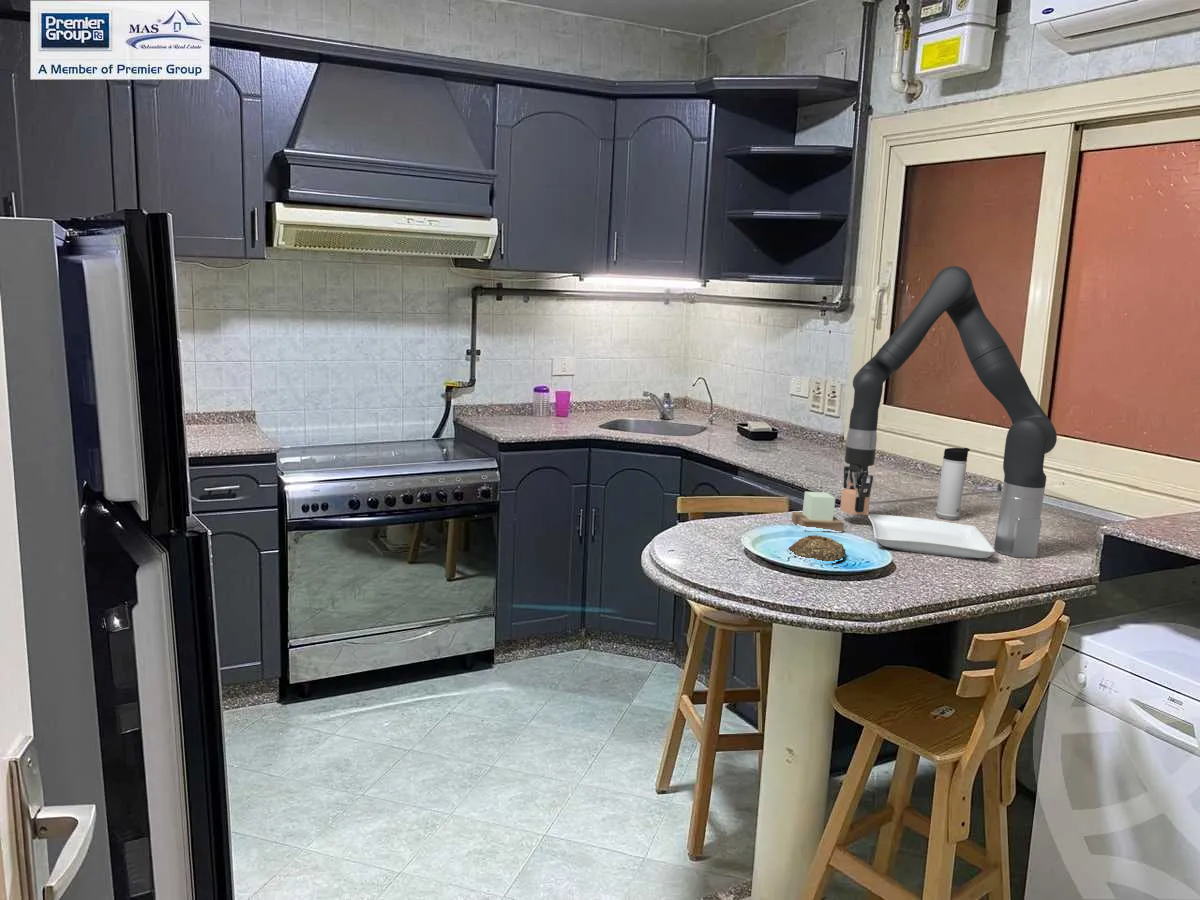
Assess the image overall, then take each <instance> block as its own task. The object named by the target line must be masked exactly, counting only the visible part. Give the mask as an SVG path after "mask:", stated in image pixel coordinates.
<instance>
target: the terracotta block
mask: <svg viewBox="0 0 1200 900" xmlns="http://www.w3.org/2000/svg"><path fill="white" fill-rule="evenodd" d="M841 489H842V490H841V496H840V497H841V498H840V508H839V510H841V511H842V512H843V513H845V514H847V515H864V516H865V515H866V516H868V514H869V510H870V502H871V501H870V500H871V495H870V496H869V497H866V498H865V503H864V511H863V512H856V511H855V502H856V490H855V489H846V488H841ZM859 492H860V489H859Z"/></svg>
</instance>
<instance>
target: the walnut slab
mask: <svg viewBox="0 0 1200 900" xmlns="http://www.w3.org/2000/svg"><path fill="white" fill-rule="evenodd" d="M791 513H792V515H791V522H792V523H795V524H794V525H796V524H799V525H802V526H806V527H816V528H823V529H831V530H835V531H842V532H843V528H844V522H842V521H841V520H840V519H838V518H837V517H835V516H834V515H833V521H825V520H810V519H808V518H807V517H806V516H804V515H803V514H802V513H803V511H802V512H801V511H792V512H791Z"/></svg>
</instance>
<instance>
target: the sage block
mask: <svg viewBox="0 0 1200 900" xmlns="http://www.w3.org/2000/svg"><path fill="white" fill-rule="evenodd" d="M835 504H836V497H835V496H833V495H832V494H830V493H829V492H825V491H824V492H822V491H821V492H819V491H804V496H803V504H802V505H803V506H802V512H803V513H802V514H803V515H804V516H806V517H807V518H808V519H810V520H825V521H833V516H834V514H835V513H834V512H835V506H836V505H835Z"/></svg>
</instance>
